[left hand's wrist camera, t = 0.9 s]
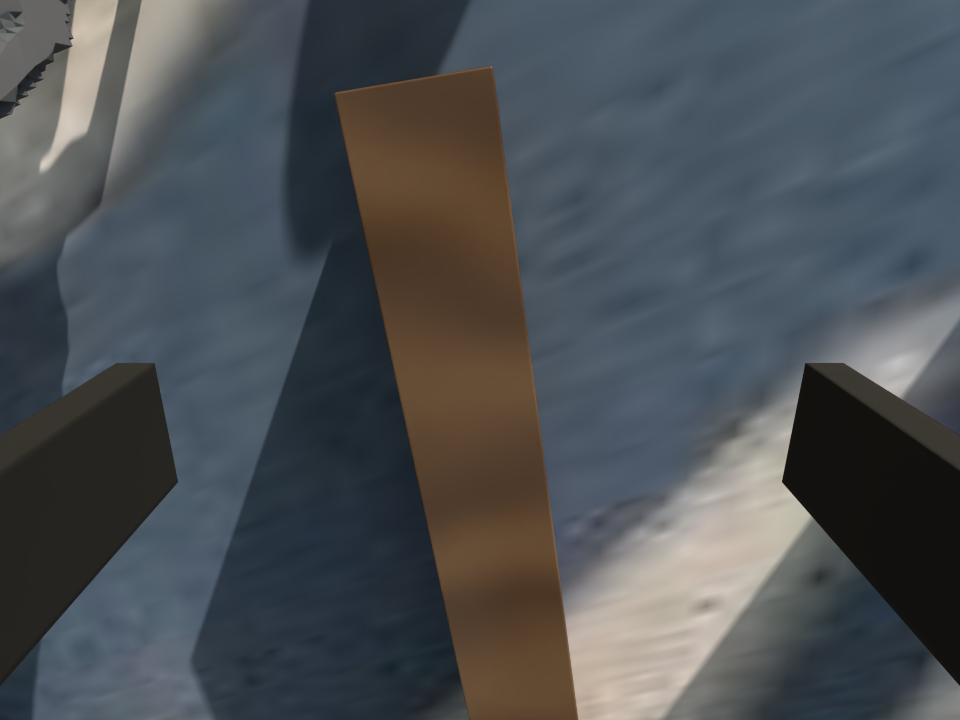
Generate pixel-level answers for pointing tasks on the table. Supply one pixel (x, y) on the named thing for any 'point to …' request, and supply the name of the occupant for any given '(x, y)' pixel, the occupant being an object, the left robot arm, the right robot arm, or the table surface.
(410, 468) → the table surface
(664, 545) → the table surface
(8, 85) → the toy
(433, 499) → the post
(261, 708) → the table surface
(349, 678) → the table surface
